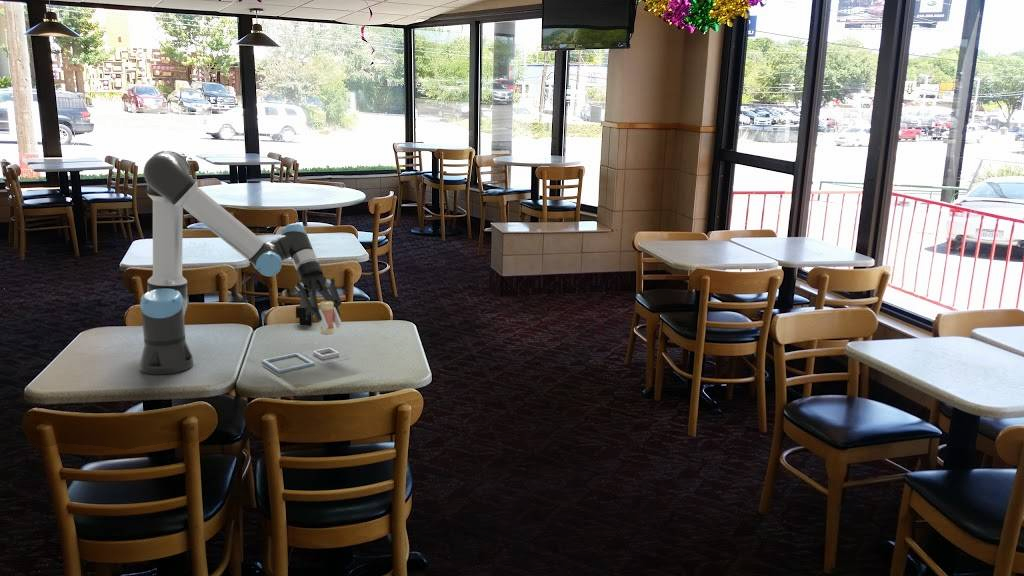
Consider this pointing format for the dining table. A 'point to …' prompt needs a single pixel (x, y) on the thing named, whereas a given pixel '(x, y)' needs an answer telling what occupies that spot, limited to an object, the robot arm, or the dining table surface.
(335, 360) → the white rectangular frame
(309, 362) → the tray
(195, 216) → the robot arm
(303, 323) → the digital camera
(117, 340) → the dining table surface
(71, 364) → the dining table surface
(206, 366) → the dining table surface
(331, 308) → the fuse
